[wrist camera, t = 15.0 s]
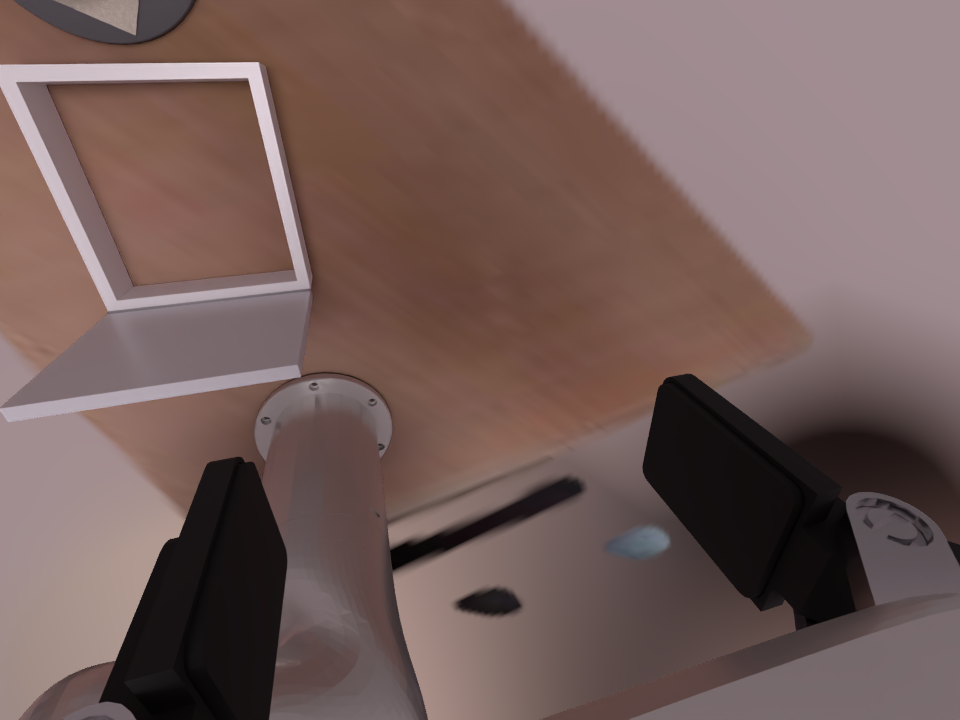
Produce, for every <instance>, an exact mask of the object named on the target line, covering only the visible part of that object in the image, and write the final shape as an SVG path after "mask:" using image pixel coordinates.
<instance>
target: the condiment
mask: <svg viewBox="0 0 960 720" xmlns="http://www.w3.org/2000/svg"><path fill="white" fill-rule="evenodd" d="M54 1H57V2H59V3H61V4H64V5H66V6H68V7H71V8H73V9H75V10H77V11H80V12H82V13H84V14H87V15H89V16H91V17H94V18H96V19H98V20H101V21H103V22H105V23H108V24H110V25H112V26H115V27H117V28H119V29H122V30H124V31H126V32H129V33H131V34H133V35H135V36H136V27H137V14H138V5H139V0H54Z"/></svg>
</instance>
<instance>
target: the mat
mask: <svg viewBox="0 0 960 720" xmlns="http://www.w3.org/2000/svg"><path fill="white" fill-rule="evenodd" d="M14 1H15V2H17V3H18V4H19V5H21V6H22V7H24V8H25V9H26V10H28V11H29V12H31V13H32V14H34V15H35V16H37V17H39V18H40V19H42V20H44V21H46V22H48V23H49V24H51V25H53V26H55V27H57V28H60V29H62V30H64V31H67V32H69V33H71V34H74V35H78V36H81V37H84V38H87V39H91V40H94V41H99V42H104V43H109V44H124V45H126V44H139V43H143V42H147V41H152V40H154V39H156V38H159V37H161V36H164V35H165V34H167V33H168V32H170V31H171V30H173V29H174V28H175V27H176V26H177V25H179V24H180V23H181V22H182V21H183V20H184V18H185V17H186V16H187V14H188V13H189V12H190V10H191V8H192V6H193V4H194V2H195V0H139V5H138V14H137V27H136V36H135V35H133V34H131V33H129V32H126V31H124V30H122V29H119V28H117V27H115V26H112V25H110V24H108V23H105V22H103V21H101V20H98V19H96V18H94V17H91V16H89V15H87V14H84V13H82V12H80V11H77V10H75V9H73V8H71V7H68V6H66V5H64V4H61V3H59V2H57V1H54V0H14Z"/></svg>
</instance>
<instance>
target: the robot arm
mask: <svg viewBox="0 0 960 720" xmlns="http://www.w3.org/2000/svg"><path fill="white" fill-rule="evenodd" d="M314 383H316V384H314ZM254 436H255V443H256V446H257V449H258V451H259V453H260V455H261V456H262V458H263V459H264V461H265V462H266V463H265V468H264V473H263V477H262V482H261V480H260V477H259V474H258V472H257V469H256V466H255V464H254V463H253V462H247V463H245V462H244V460H243V459H242V457H234V458H229V459H224V460H218V461H213V462H209V463H208V464H207V466H206V467H205V470H204V473H203V475H202V478H201V480H200V483H199V486H198V488H197V491H196V494H195V496H194V499H193V501H192V504H191V507H190V509H189V512H188V515H187V517H186V520H185V522H184V525H183V528H182V530H181V533H180V536H179V537H178V538H174V539H170V540H168V541H167V542H166V543H165V545H164V546H163V548H162V550H161V552H160V554H159V556H158V559H157V561H156V564H155V566H154V569H153V571H152V573H151V576H150V578H149V581H148V583H147V586H146V588H145V590H144V593H143V595H142V598H141V600H140V603H139V605H138V608H137V610H136V612H135V615H134V617H133V620H132V622H131V625H130V627H129V629H128V632H127V634H126V637H125V639H124V642H123V644H122V647H121V649H120V651H119V654H118V657H117V659H116V661H112V662H107V663H103V664H98V665H95V666H91V667H87V668H85V669H82V670H80V671H78V672H75V673H73V674H71V675H69V676H67V677H65V678H64V679H62V680H60V681H59V682H57V683H56V684H54V685H53V686H52V687H50V688H49V689H48V690H47V691H45V692H44V693H43V694H42V695H41V696H39V698H37V699H36V700H35V701H34V702H33V704H32V705H31V706H30V707H29V708H28V709H27V710H26V711H25V712H24V714H23V715H22V716H21V717H20V719H19V720H428V717H427V713H426V709H425V705H424V701H423V697H422V694H421V690H420V687H419V684H418V681H417V677H416V674H415V671H414V668H413V665H412V662H411V659H410V656H409V652H408V649H407V645H406V642H405V638H404V635H403V630H402V626H401V622H400V618H399V612H398V607H397V601H396V596H395V589H394V581H393V573H392V565H391V556H390V546H389V537H388V528H387V519H386V510H385V501H384V491H383V482H382V473H381V464H380V458H381V457H382V456H383V454H384V453H385V451H386V450H387V448H388V446H389V443H390V441H391V436H392V420H391V414H390V411H389V409H388V406H387V404H386V402H385V401H384V399H383V398H382V397H381V395H380V394H379V393H378V392H376V391H375V390H374V389H373V388H372V387H371V386H369V385H367V384H366V383H364V382H362V381H360V380H357V379H355V378H352V377H349V376H344V375H340V374H327V373H322V374H313V375H307V376H304V377H300V378H297V379H294V380H292V381H290V382H288V383H286V384H284V385H282V386H281V387H279V388H278V389H277V390H275V391H274V392H273V393H272V394H271V395H270V396H269V397H268V398H267V399H266V400H265V402H264V403H263V405H262V407H261V408H260V410H259V413H258V416H257V419H256V423H255V429H254ZM643 473H644V476H645V478H646V479H647V481H648V482H649V483H650V485H651V486H652V487H653V488H654V489H655V491H656V492H657V493H658V494H659V495H660V497H661V498H662V499H663V500H664V502H665V503H666V504H667V505H668V506H669V508H670V509H671V510H672V511H673V512H674V514H675V515H676V516H677V517H678V519H679V520H680V521H681V522H682V523H683V525H684V526H685V527H686V528H687V530H688V531H689V532H690V533H691V534H692V536H693V537H694V538H695V539H696V540H697V542H698V543H699V544H700V545H701V547H702V548H703V549H704V550H705V551H706V553H708V555H709V556H710V557H711V559H712V560H713V561H714V562H715V564H716V565H717V566H718V567H719V568H720V570H721V571H722V572H723V573H724V574H725V576H726V577H727V578H728V579H729V581H730V582H731V583H732V584H733V585H734V587H735V588H736V589H737V590H738V591H739V592H740V593H741V594H742V595H743V596H745V597H747V598H750V599H751V600H752V601H753V602H754V604H755V605H756V606H757V607H758V608H759V610H760V611H764V610H767V609H770V608H773V607H776V606H779V605H782V604H783V602H784V600H786V601H787V602H788V603H789V604H790V605H791V607H792V608H793V613H794V620H795V628H796V631H795V632H792V633H789V634H786V635H783V636H780V637H777V638H775V639H771V640H768V641H765V642H763V643H760V644H757V645H754V646H751V647H748V648H745V649H742V650H739V651H736V652H733V653H731V654H727V655H725V656H721V657H718V658H716V659H713V660H710V661H707V662H704V663H701V664H698V665H695V666H692V667H690V668H687V669H684V670H681V671H678V672H675V673H672V674H669V675H666V676H664V677H661V678H658V679H655V680H652V681H649V682H646V683H643V684H640V685H637V686H635V687H632V688H629V689H626V690H623V691H621V692H617V693H615V694H612V695H609V696H606V697H603V698H600V699H597V700H594V701H592V702H589V703H586V704H583V705H580V706H577V707H575V708H571V709H569V710H566V711H563V712H560V713H557V714H554V715H551V716H548V717H546V718H543V719H540V720H960V545H959V544H956V543H952V542H949V541H946V538H945V536H944V534H943V533H942V531H941V530H940V529H939V527H938V526H937V525H936V524H935V523H934V522H933V521H932V520H931V519H930V518H929V517H927V516H926V515H925V514H924V513H922V512H921V511H919V510H917V509H916V508H914V507H912V506H911V505H909V504H907V503H905V502H902V501H900V500H898V499H896V498H892V497H889V496H886V495H883V494H877V493H871V492H864V493H863V492H862V493H856V494H853V495H851V496H850V497H849V498H848V500H847V501H846V502H844V501H842V500H841V499H840V498H838V495H839V493H840V491H841V489H842V487H841V486H840V485H839V484H837V483H836V482H835V481H833V480H832V479H831V478H829V477H828V476H827V475H825V474H824V473H823V472H821V471H820V470H818V469H817V468H816V467H815V466H813V465H812V464H811V463H809V462H808V461H807V460H805V459H804V458H803V457H802V456H800V455H799V454H797V453H796V452H795V451H794V450H792V449H791V448H789V447H788V446H787V445H786V444H784V443H783V442H782V441H780V440H779V439H777V438H776V437H775V436H774V435H772V434H771V433H770V432H768V431H767V430H766V429H764V428H763V427H762V426H760V425H759V424H758V423H756V422H755V421H754V420H752V419H751V418H750V417H749V416H747V415H746V414H745V413H743V412H742V411H741V410H739V409H738V408H737V407H735V406H734V405H733V404H731V403H730V402H729V401H727V400H726V399H725V398H723V397H722V396H721V395H719V394H718V393H717V392H715V391H714V390H713V389H711V388H710V387H709V386H707V385H706V384H705V383H703V382H702V381H701V380H699V379H698V378H697V377H695V376H694V375H692V374H684V375H678V376H673V377H668V378H666V379H665V380H664V382H663V384H662V385H660V387H659V389H658V392H657V397H656V402H655V407H654V412H653V417H652V422H651V427H650V432H649V437H648V441H647V446H646V452H645V456H644V462H643Z"/></svg>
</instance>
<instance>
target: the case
mask: <svg viewBox="0 0 960 720" xmlns="http://www.w3.org/2000/svg"><path fill="white" fill-rule="evenodd" d="M214 81H249V84H250V88H251V92H252V96H253V100H254V104H255V108H256V113H257V117H258V121H259V125H260V129H261V133H262V137H263V141H264V146H265V150H266V154H267V158H268V162H269V166H270V170H271V175H272V179H273V183H274V187H275V191H276V195H277V199H278V203H279V208H280V212H281V216H282V220H283V224H284V228H285V232H286V236H287V241H288V245H289V249H290V253H291V257H292V261H293V265H294V270H286V271H276V272H267V273H257V274H247V275H238V276H228V277H219V278H209V279H200V280H190V281H180V282H171V283H161V284H152V285H142V286H133V284H132V281H131V279H130V277H129V275H128V272H127V270H126V268H125V265H124V263H123V261H122V258H121V256H120V254H119V252H118V249H117V247H116V245H115V242H114V240H113V238H112V236H111V233H110V231H109V229H108V226H107V224H106V222H105V219H104V217H103V215H102V213H101V210H100V208H99V206H98V203H97V201H96V199H95V196H94V194H93V192H92V190H91V187H90V185H89V183H88V180H87V178H86V176H85V173H84V171H83V169H82V167H81V164H80V162H79V160H78V157H77V155H76V153H75V151H74V148H73V146H72V144H71V141H70V139H69V137H68V134H67V132H66V130H65V128H64V125H63V123H62V121H61V118H60V116H59V114H58V111H57V109H56V107H55V105H54V102H53V100H52V98H51V95H50V93H49V91H48V88H47V86H46V85H51V84H105V83H160V82H214ZM0 87H1V89H2V91H3V93H4V95H5V97H6V99H7V101H8V103H9V105H10V108H11V110H12V112H13V114H14V116H15V118H16V120H17V122H18V124H19V126H20V128H21V131H22V133H23V135H24V137H25V139H26V141H27V143H28V145H29V147H30V149H31V151H32V153H33V156H34V158H35V160H36V162H37V164H38V166H39V168H40V170H41V172H42V174H43V176H44V179H45V181H46V183H47V185H48V187H49V189H50V191H51V193H52V195H53V197H54V199H55V201H56V204H57V206H58V208H59V210H60V212H61V214H62V216H63V218H64V220H65V222H66V224H67V227H68V229H69V231H70V233H71V235H72V237H73V239H74V241H75V243H76V245H77V247H78V249H79V252H80V254H81V256H82V258H83V260H84V262H85V264H86V266H87V268H88V270H89V272H90V275H91V277H92V279H93V281H94V283H95V285H96V287H97V289H98V291H99V293H100V295H101V297H102V300H103V302H104V304H105V306H106V308H107V310H108V312H107V315H106V316H104V317H103V318H102V319H101V320H100V321H99V322H98V323H96V324H95V325H94V326H93V327H92V328H91V329H90V330H88V331H87V332H86V333H85V334H84V335H83V336H82V337H80V338H79V339H78V340H77V341H76V342H75V343H73V344H72V345H71V346H70V347H69V348H68V349H67V350H65V351H64V352H63V353H62V354H61V355H60V356H59V357H57V358H56V359H55V360H54V361H53V362H52V363H51V364H49V365H48V366H47V367H46V368H45V369H44V370H43V371H41V372H40V373H39V374H38V375H37V376H36V377H35V378H33V379H32V380H31V381H30V382H29V383H28V384H26V385H25V386H24V387H23V388H22V389H21V390H20V391H18V392H17V393H16V394H15V395H14V396H13V397H12V398H11V399H9V400H8V401H7V402H6V403H5V404H4V405H2V406H1V407H0V412H1V413H2V414H3V416H4V417H5V419H6V420H7V422H12V421H19V420H25V419H31V418H38V417H45V416H51V415H57V414H64V413H71V412H77V411H84V410H90V409H97V408H103V407H110V406H116V405H123V404H129V403H136V402H142V401H149V400H155V399H162V398H169V397H175V396H182V395H188V394H195V393H201V392H208V391H214V390H221V389H227V388H234V387H240V386H247V385H253V384H260V383H266V382H273V381H279V380H286V379H292V378H299V377H301V374H302V367H303V361H304V354H305V348H306V341H307V334H308V328H309V321H310V315H311V308H312V301H313V294H312V290H311V284H312V279H313V276H312V272H311V267H310V263H309V258H308V254H307V249H306V245H305V240H304V236H303V232H302V227H301V223H300V218H299V214H298V209H297V205H296V200H295V196H294V191H293V187H292V182H291V178H290V173H289V169H288V164H287V160H286V155H285V151H284V146H283V142H282V137H281V133H280V128H279V124H278V120H277V115H276V111H275V106H274V102H273V97H272V93H271V88H270V84H269V79H268V75H267V70H266V66H264V65H262V64H261V63H259V62H235V63H137V64H38V65H0Z"/></svg>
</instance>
